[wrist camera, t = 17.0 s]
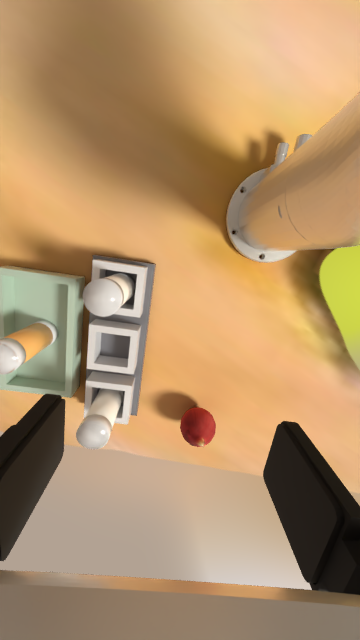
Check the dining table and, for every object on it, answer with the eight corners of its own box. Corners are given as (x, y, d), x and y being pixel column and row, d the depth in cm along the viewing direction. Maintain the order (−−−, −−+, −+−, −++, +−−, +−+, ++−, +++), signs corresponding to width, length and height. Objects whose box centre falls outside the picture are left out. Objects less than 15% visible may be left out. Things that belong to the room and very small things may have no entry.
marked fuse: (31, 318, 36) (-20, 340, 27) (58, 321, 37) (17, 344, 27) (32, 342, 37) (-18, 372, 28) (58, 345, 38) (18, 376, 28)
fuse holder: (96, 254, 35) (85, 254, 31) (155, 264, 36) (153, 265, 31) (87, 404, 42) (77, 421, 37) (137, 410, 42) (133, 427, 38)
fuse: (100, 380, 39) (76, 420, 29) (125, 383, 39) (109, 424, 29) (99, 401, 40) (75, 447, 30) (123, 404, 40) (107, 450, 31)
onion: (194, 430, 44) (198, 468, 36) (173, 411, 43) (173, 446, 35) (217, 412, 43) (227, 446, 35) (197, 392, 42) (202, 423, 34)
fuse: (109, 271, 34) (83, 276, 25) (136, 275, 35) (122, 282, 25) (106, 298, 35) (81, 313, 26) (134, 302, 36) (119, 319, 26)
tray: (10, 265, 35) (-7, 266, 32) (84, 276, 36) (75, 278, 33) (14, 378, 40) (-1, 389, 37) (79, 386, 41) (71, 397, 37)
